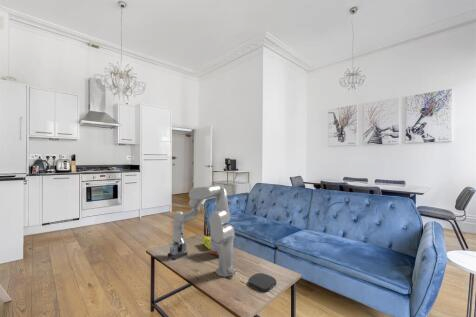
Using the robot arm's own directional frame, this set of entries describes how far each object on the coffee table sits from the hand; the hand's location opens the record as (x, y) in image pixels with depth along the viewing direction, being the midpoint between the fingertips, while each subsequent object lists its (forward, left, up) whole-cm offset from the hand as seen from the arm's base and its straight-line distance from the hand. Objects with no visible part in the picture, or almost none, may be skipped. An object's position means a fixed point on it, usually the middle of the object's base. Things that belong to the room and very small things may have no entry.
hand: (177, 250), depth 171 cm
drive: (0, 0, -2) cm, 2 cm away
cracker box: (-21, -24, -5) cm, 32 cm away
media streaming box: (-71, -14, -5) cm, 72 cm away
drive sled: (0, 0, -4) cm, 4 cm away
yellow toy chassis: (-4, -28, -5) cm, 29 cm away
